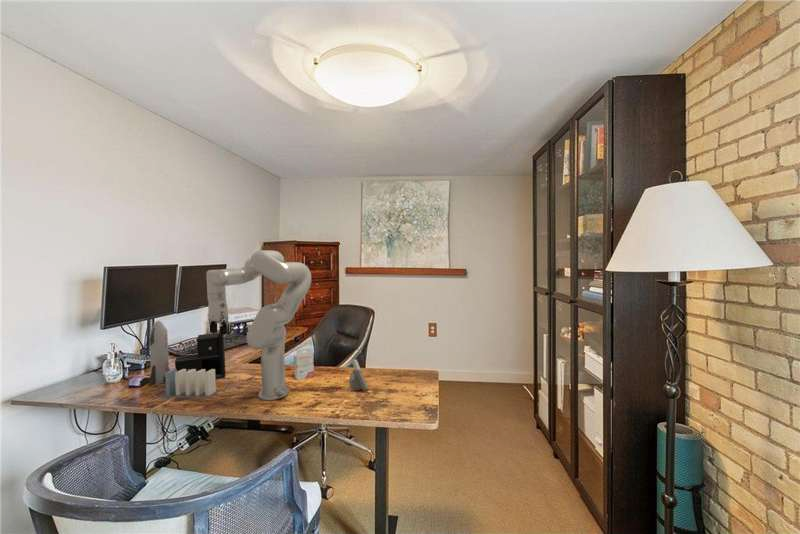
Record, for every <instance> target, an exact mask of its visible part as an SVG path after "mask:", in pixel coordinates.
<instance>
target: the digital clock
mask: <svg viewBox="0 0 800 534" xmlns="http://www.w3.org/2000/svg"><path fill="white" fill-rule="evenodd" d="M351 363H352V366H353V370H352V372H351V373H349V385H350V388H351V391H357V390H358V391H359V390H362V391H364V392H365V391H367V390H368V389H369V387H368V384H367V382H366V380H365V377H364V374H363V371H362V369H361V367H360V365H359V361H358V360H357V359H353V360H351Z"/></svg>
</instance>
